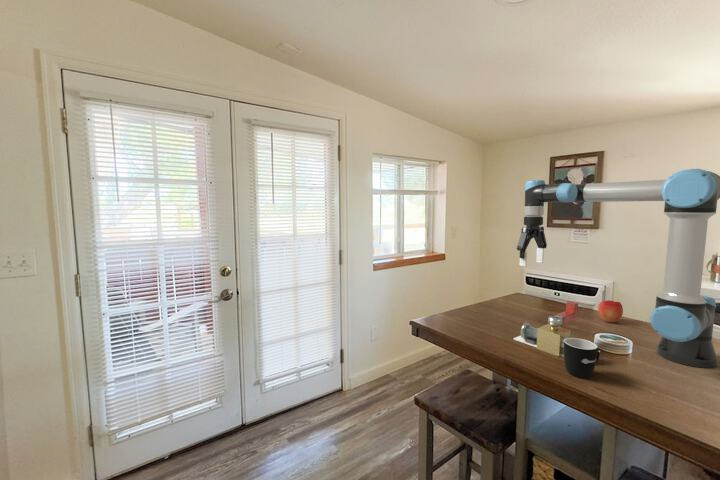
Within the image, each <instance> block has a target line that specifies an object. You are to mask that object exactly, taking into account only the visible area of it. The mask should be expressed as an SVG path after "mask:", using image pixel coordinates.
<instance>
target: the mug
mask: <svg viewBox="0 0 720 480" xmlns="http://www.w3.org/2000/svg"><path fill="white" fill-rule="evenodd" d="M598 348H599V347H598V345H597V343H595V342H592V341H590V340H588V339H583V338H576V337H570V338H567V339H565V340H564V357H563V358H564V359H563V361H564V365H565V366H564V367H565V370H566V372H567V373H568V374H569V375H570V376H572V377H576V378H579V379H589V378H591V377H592V375H594V371H595V368H596V364H597V363H598V362H599V359H600V357H601V356H600V354H601V353H599V351H600V350H599V349H598Z"/></svg>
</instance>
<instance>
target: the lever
mask: <svg viewBox="0 0 720 480" xmlns="http://www.w3.org/2000/svg"><path fill="white" fill-rule="evenodd" d="M578 314H579V302H575V301H571V300H569V301H567V302H566V304H565V311H561V312H559V313H556V314H555V315H553V316H552V315H550V316H548V320H547V324H549V325H551V326H558V327H561V325H564V324H566V323H569V322H572V321H574V320H575V319H577V318H578Z"/></svg>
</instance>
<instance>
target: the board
mask: <svg viewBox="0 0 720 480" xmlns="http://www.w3.org/2000/svg"><path fill="white" fill-rule="evenodd" d="M513 340H514V341H516V342H520V343H522V344H526V345H528V346H531V347H534V348H537V344H534V345H532V344H530V343H527V342H526V339H523V338H522V337H521V335H520V334H519V335H518V336H516V337H513ZM598 351H599V354H601V351H600V350H598ZM559 357H562V358H564V353H563V354H561V355H560V356H559Z"/></svg>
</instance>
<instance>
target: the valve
mask: <svg viewBox="0 0 720 480" xmlns="http://www.w3.org/2000/svg"><path fill="white" fill-rule="evenodd" d="M519 332H520V334H519V336H520V335H521V337H522V338H523V339H526V342H527V343H530V344H532V345H534V344H537V347H536V349H537V350H538V351H542V352H544V353H548V354H551V355H552V356H553V355H554V356H556V357H561V356H560V355H561V354H563V353H564V340H565V339H567V338H571V332H572V331H571V329H568V328H565V327H561V326H551V325H549V324H548V323H547V324H544V325H542V326H540V327H534V326H532V324H531V323H530V322H523V324H522V325H521V328H520V331H519Z"/></svg>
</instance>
